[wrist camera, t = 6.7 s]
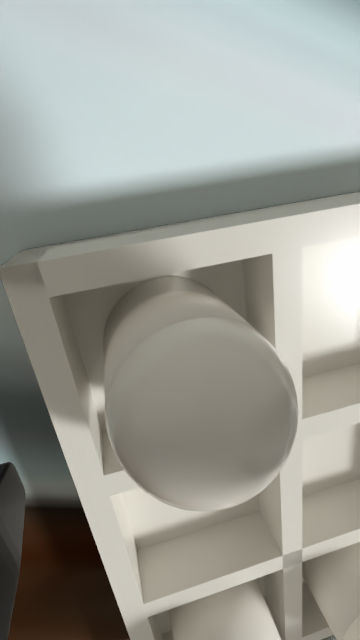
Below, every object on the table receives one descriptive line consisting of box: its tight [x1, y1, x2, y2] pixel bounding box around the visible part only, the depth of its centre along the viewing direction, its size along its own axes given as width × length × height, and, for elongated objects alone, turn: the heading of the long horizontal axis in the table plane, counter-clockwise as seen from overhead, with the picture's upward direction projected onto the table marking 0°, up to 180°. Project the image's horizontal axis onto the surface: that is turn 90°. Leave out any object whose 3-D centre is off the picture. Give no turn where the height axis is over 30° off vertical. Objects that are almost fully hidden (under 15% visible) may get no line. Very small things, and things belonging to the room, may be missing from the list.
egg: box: [103, 277, 298, 512], centre depth 10 cm, size 5×5×7 cm
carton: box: [0, 192, 360, 640], centre depth 14 cm, size 24×16×8 cm
